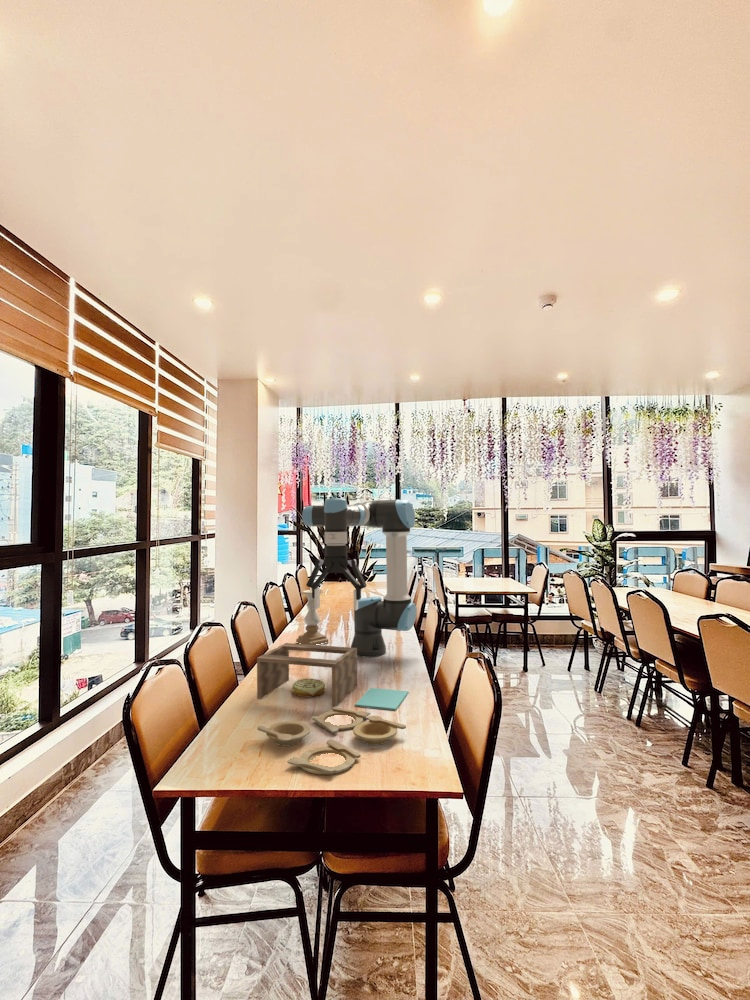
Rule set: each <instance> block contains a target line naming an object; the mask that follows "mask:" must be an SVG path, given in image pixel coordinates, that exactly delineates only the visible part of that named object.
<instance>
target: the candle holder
mask: <svg viewBox="0 0 750 1000" xmlns="http://www.w3.org/2000/svg"><path fill="white" fill-rule="evenodd" d="M323 593H324V591H323V590H322V589H320V595H321V594H323ZM300 594H302V595H305V597H306V598H307V603H306V607H307V609H308V611H307V613H306V614H305V617H304V620H303V621H304V624H305V625H306V626H305V632H304V633H303V634H301V635H298V636H297V637H298V638H296V639H295V643H296V642H298V643H301V644H306V645H316V644H321V643H325V642H328V643H329V639H328V638H327V636H326V635H325V634H322V633H321V632H319V630H320V627H319V625H318V624H319V623H320V622H321V617H320V616H319V614H318V613H317V609H315V598H312V589H303V590H301V591H300Z"/></svg>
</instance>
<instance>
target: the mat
mask: <svg viewBox="0 0 750 1000" xmlns="http://www.w3.org/2000/svg"><path fill="white" fill-rule="evenodd" d="M407 694H408V695H409V690H401V689H400V690H398V689H388V688H378V687H370V688H369V689H368V690H367V691H366V692H365V693H364V694H363V695H362V697H361V698H359V699H358V701H356V703H354V707H356V706H361V707H360V708H366V707H369V708H368V709H375V708H379V709H378V710H385V709H390V710H389V711H395V710H396V711H397V710H398V709H399V707H400V706H401V704H402V703H403V702H404V700H405V699H404V698H406V697H407V696H408V695H407ZM402 701H403V702H402ZM397 708H398V709H397Z"/></svg>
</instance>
